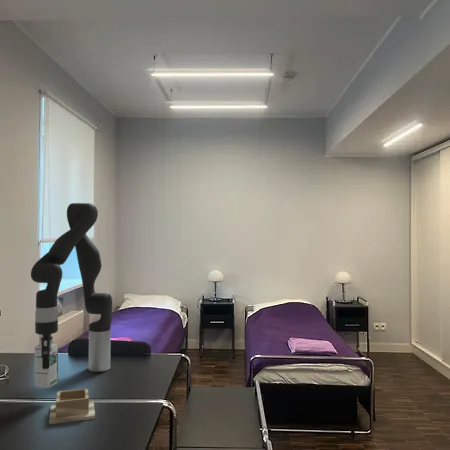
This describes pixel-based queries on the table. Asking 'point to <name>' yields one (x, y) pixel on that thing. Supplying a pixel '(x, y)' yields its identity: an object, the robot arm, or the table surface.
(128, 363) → the table surface
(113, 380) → the table surface
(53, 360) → the syrup box
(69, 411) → the wooden square holder
